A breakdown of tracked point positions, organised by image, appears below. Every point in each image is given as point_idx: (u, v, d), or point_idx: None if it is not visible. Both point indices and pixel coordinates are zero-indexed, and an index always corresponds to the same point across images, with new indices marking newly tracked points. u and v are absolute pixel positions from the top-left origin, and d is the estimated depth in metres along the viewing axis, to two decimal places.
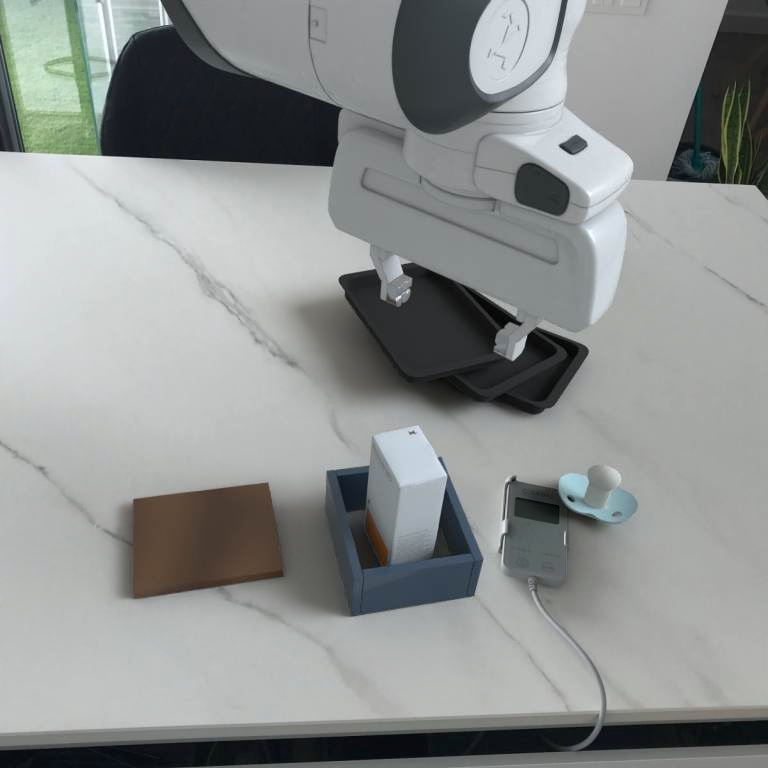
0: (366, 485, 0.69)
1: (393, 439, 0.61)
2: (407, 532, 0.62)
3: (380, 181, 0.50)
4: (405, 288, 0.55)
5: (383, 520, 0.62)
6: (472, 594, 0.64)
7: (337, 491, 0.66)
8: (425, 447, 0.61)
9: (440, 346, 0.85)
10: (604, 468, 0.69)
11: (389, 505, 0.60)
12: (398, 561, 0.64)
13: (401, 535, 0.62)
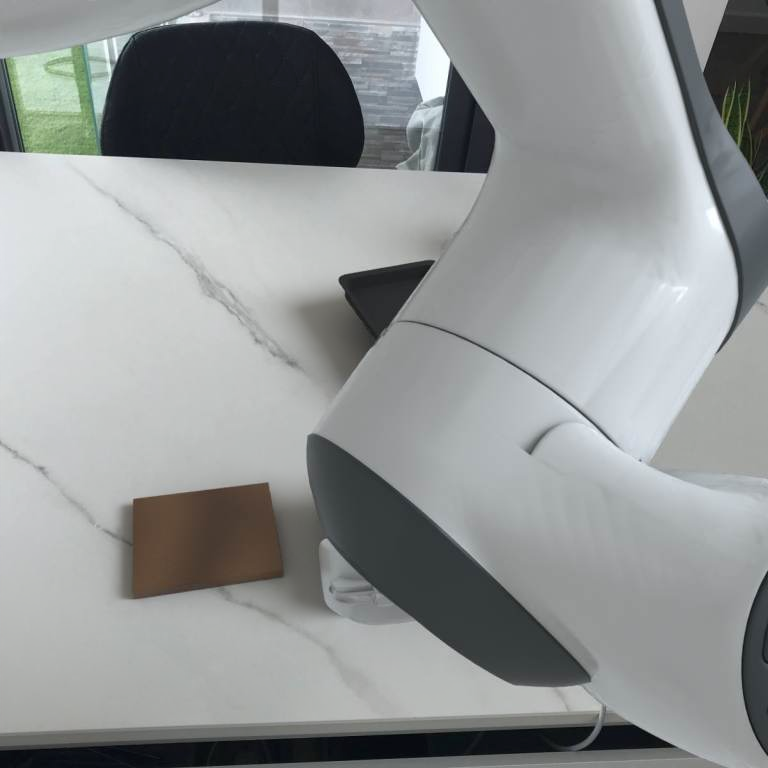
0: None
1: None
2: None
3: None
4: None
5: None
6: None
7: None
8: None
9: None
10: None
11: None
12: None
13: None
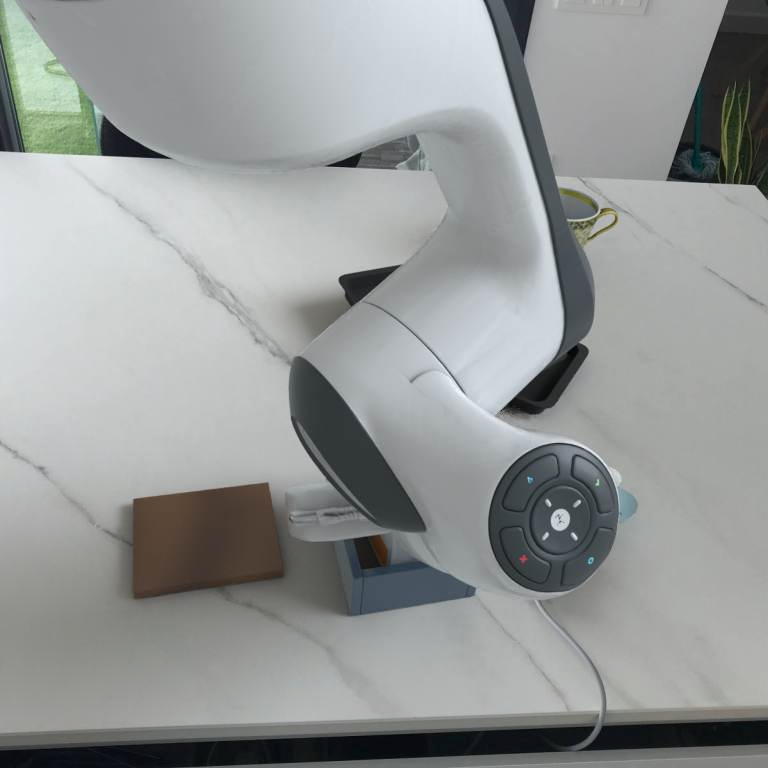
0: None
1: None
2: None
3: None
4: None
5: None
6: (472, 594, 0.64)
7: None
8: None
9: None
10: None
11: None
12: (398, 561, 0.64)
13: None
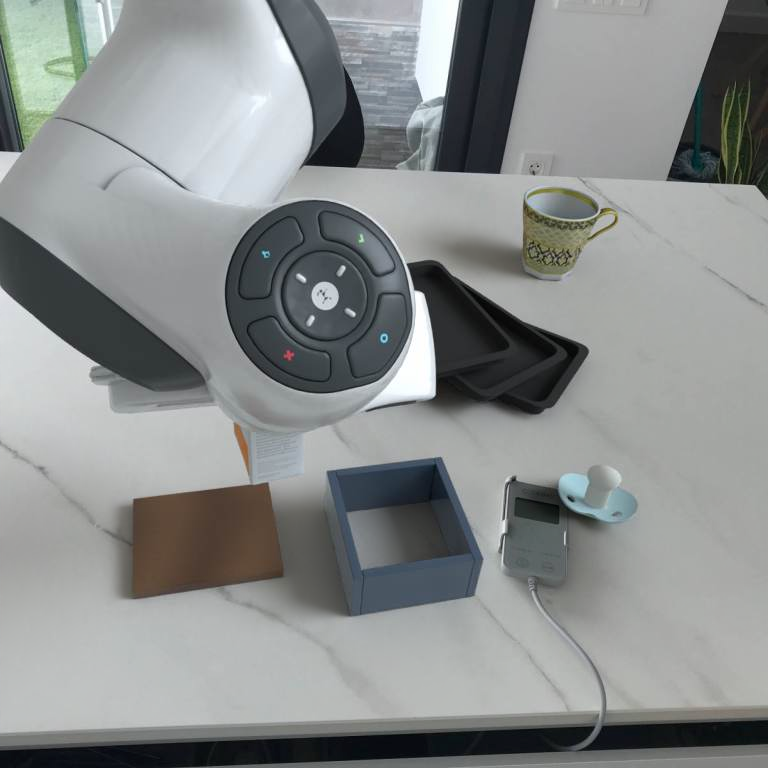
0: (366, 485, 0.69)
1: None
2: None
3: None
4: None
5: None
6: (472, 594, 0.64)
7: (337, 491, 0.66)
8: None
9: (440, 346, 0.85)
10: (604, 468, 0.69)
11: None
12: (261, 460, 0.56)
13: None
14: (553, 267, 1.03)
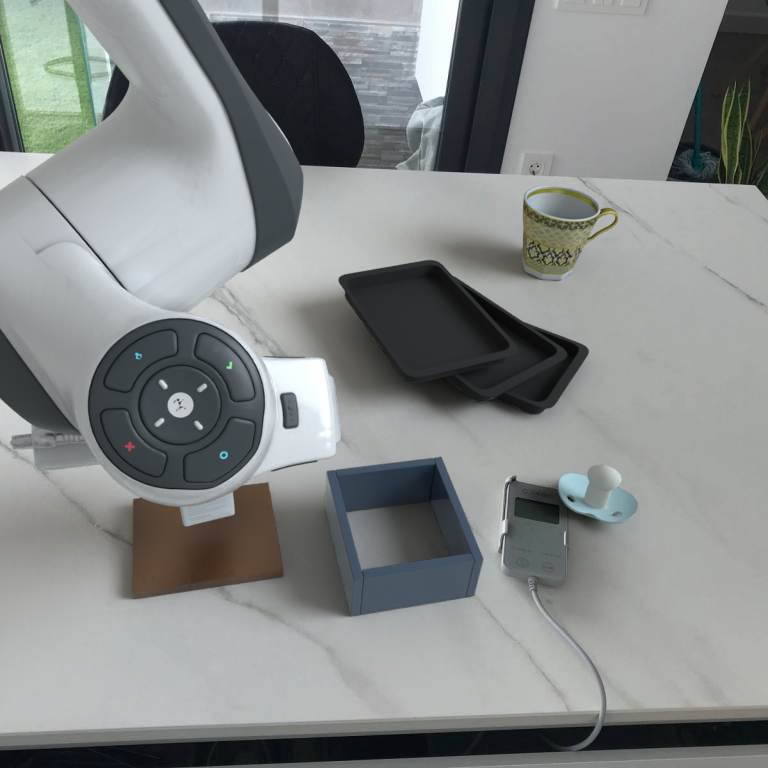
0: (366, 485, 0.69)
1: None
2: None
3: None
4: None
5: None
6: (472, 594, 0.64)
7: (337, 491, 0.66)
8: None
9: (440, 346, 0.85)
10: (604, 468, 0.69)
11: None
12: None
13: None
14: (553, 267, 1.03)
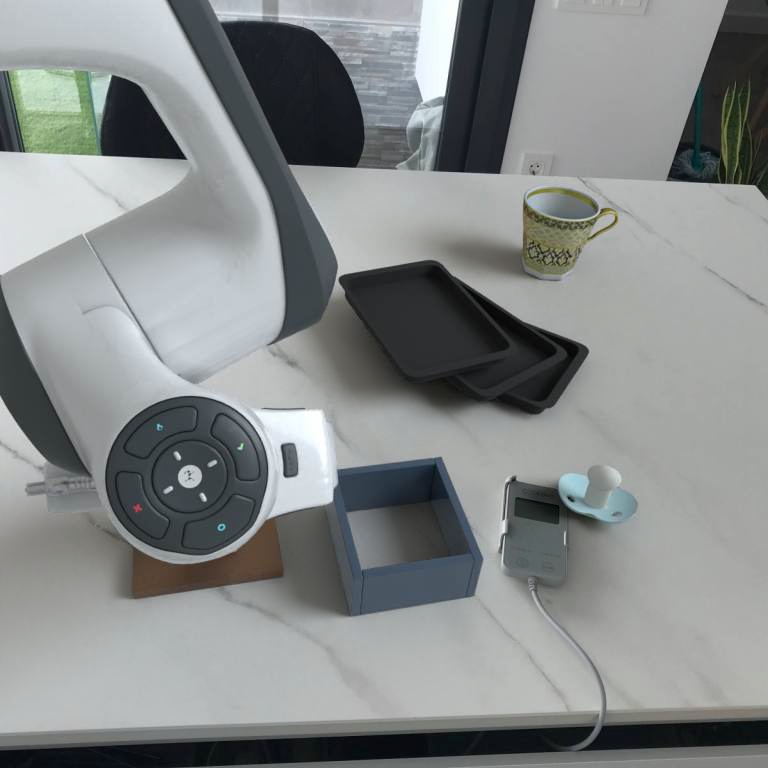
0: (366, 485, 0.69)
1: None
2: None
3: None
4: None
5: None
6: (472, 594, 0.64)
7: (337, 491, 0.66)
8: None
9: (440, 346, 0.85)
10: (604, 468, 0.69)
11: None
12: None
13: None
14: (553, 267, 1.03)
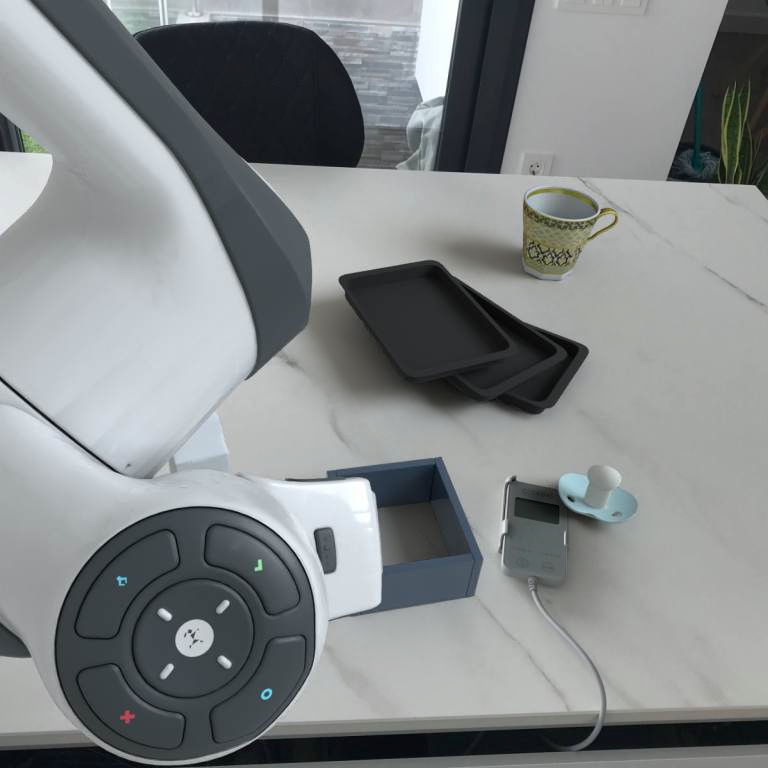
0: None
1: None
2: None
3: None
4: None
5: None
6: (472, 594, 0.64)
7: None
8: (213, 425, 0.59)
9: (440, 346, 0.85)
10: (603, 468, 0.69)
11: None
12: None
13: None
14: (553, 267, 1.03)
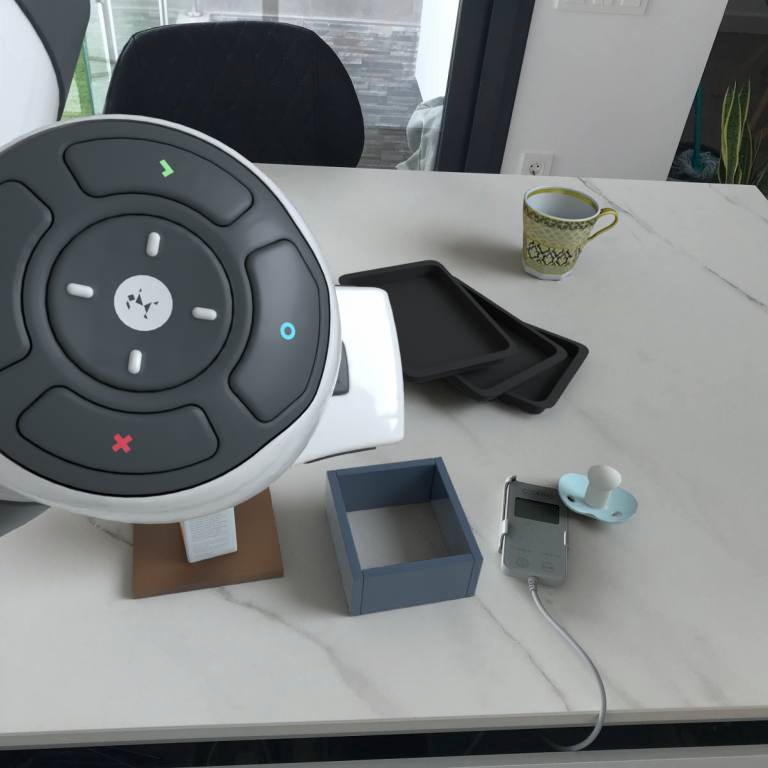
0: (366, 485, 0.69)
1: None
2: None
3: None
4: None
5: None
6: (472, 594, 0.64)
7: (337, 491, 0.66)
8: None
9: (440, 346, 0.85)
10: (604, 468, 0.69)
11: None
12: (196, 543, 0.62)
13: None
14: (553, 267, 1.03)
